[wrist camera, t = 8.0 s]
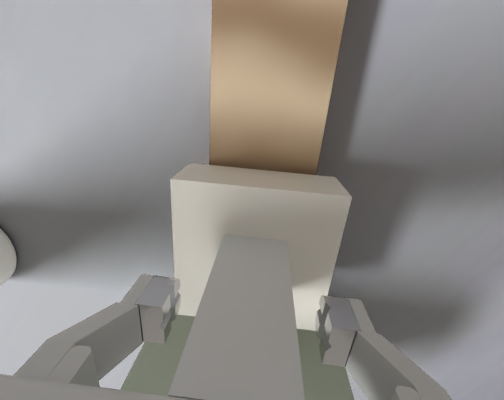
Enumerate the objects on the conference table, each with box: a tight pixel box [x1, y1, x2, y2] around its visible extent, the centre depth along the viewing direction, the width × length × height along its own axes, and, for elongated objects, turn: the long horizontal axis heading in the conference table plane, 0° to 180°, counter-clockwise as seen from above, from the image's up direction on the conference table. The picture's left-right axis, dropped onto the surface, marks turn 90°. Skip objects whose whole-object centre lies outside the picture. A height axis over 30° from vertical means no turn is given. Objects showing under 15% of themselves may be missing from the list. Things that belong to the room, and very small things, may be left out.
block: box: [209, 0, 348, 175], centre depth 14 cm, size 22×6×2 cm, turn 175°
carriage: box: [168, 163, 352, 400], centre depth 11 cm, size 8×8×10 cm
